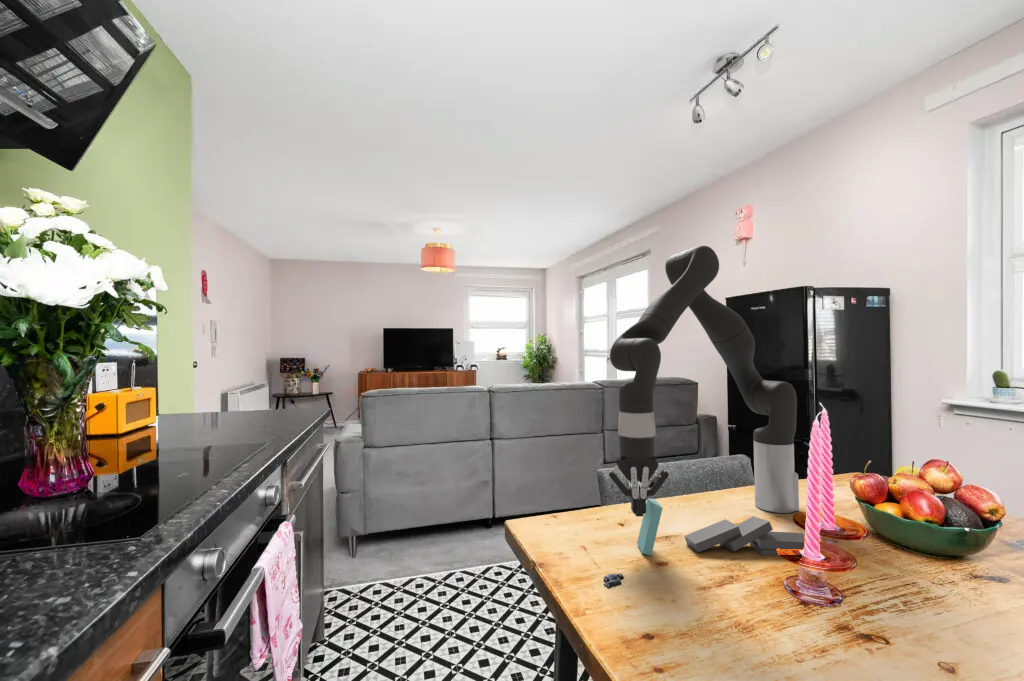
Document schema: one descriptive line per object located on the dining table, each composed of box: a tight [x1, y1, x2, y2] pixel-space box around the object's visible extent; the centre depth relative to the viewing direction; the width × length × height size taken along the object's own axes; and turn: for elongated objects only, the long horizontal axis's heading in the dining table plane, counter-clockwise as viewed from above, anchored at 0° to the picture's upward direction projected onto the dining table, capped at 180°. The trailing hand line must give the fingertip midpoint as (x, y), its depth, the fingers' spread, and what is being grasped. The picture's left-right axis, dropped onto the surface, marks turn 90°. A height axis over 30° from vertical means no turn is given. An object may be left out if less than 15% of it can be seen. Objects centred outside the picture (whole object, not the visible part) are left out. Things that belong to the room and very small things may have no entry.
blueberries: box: [603, 573, 625, 589], centre depth 83 cm, size 7×8×2 cm
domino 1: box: [683, 519, 741, 553], centre depth 97 cm, size 2×5×10 cm
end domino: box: [636, 497, 663, 556], centre depth 96 cm, size 2×5×10 cm, turn 177°
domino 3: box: [749, 541, 780, 557], centre depth 96 cm, size 2×5×10 cm
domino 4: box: [754, 531, 805, 550], centre depth 96 cm, size 2×5×10 cm
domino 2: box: [718, 515, 774, 552], centre depth 97 cm, size 2×5×10 cm
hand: (638, 515), depth 97 cm, fingers closed
